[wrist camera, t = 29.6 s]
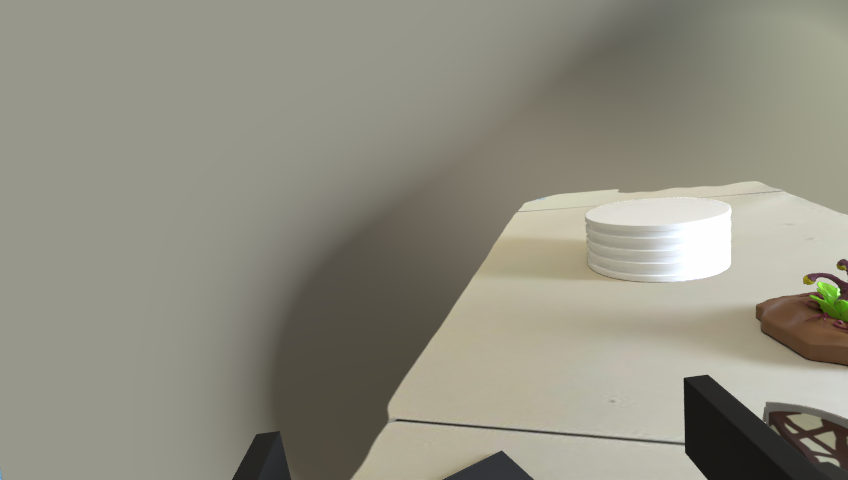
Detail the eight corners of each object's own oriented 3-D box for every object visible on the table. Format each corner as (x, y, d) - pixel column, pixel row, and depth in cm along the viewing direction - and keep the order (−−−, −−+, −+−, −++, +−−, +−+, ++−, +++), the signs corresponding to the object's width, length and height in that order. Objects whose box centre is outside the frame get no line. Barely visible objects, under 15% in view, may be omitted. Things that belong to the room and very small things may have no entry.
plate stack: (580, 249, 121) (577, 205, 118) (701, 239, 115) (700, 192, 113) (599, 287, 94) (595, 231, 92) (757, 276, 88) (758, 216, 86)
